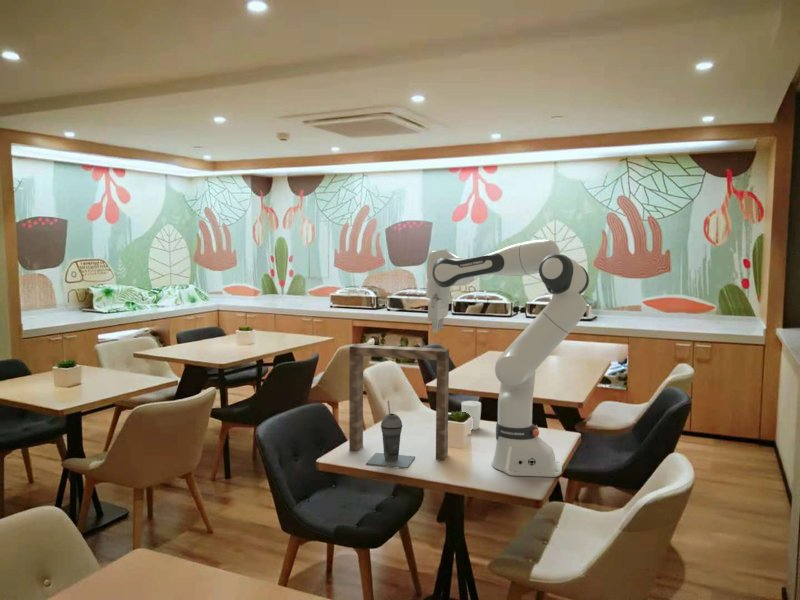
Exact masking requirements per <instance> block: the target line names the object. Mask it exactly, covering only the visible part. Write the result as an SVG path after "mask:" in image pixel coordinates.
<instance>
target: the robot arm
mask: <svg viewBox="0 0 800 600" xmlns="http://www.w3.org/2000/svg"><path fill="white" fill-rule="evenodd" d="M560 251H561V250H560V248H559V246H558V244H557V243H556V242H555V241H553V240H552V239H535V240H528V241H522V242H519V243H515V244H512V245H509V246H506V247H504V248H500V249H498V250H496V251H493V252H490V253H487V254H484V255H480V256H476V257H470V258H462V257H459V256H457V255H455V254H454V253H452V252H451V251H450V250H449V249H447V248H442V249H435V250H432V251H430V252H429V253H428V255H427V259H426V276H427V281H426V288H425V289H426V292H425V293H426V294H425V295H426V297H425V298H426V299H429V300H428V304H427V320H428V321H429V322H431V328H432V330H431V332H432V333H435V334H437V333H438V332H439V331H440V330H443V329H444V322H445V318H447V317H448V314H449V306H450V299H451V296H452V295H451V294H452V292H451V287H455V286H458V287H459V286H465V285H468V284H470V283H472V282H473V281H474V279H475V277H478V276H483V275H490V276H492V275H494V276H495V275H496V276H506V277H507V276H509V277H521V276H522V277H523V276H529V275H535V274H539V277H540V279H541V281H542V283H543V285H544V286H545V287H546V289H547V292H548V293H550V294H551V296H552V297H551V299H550V301H549V302H548V303H547V304H546V306H544V308H543V309H542V310H541V311H540V312H539V313H537V315H536V317H534V319H533V320H532V321H531V322H530V323H529V325H527V327H526V328H525V329H523V331H522V332H520V334H519V335H518V336H517V337H516V338H515V339H514V340H513V342H511V344H510V345H509V346H508V347H507V348H506V349H505V350H504V351H503V352H502V353H501V354H500V356H499V357H497V360H496V362H495V366H494V373H495V376H496V378H497V380H498V381H499V382H500V386H499V391H498V392H499V394H498V398H497V399H498V400H497V421H496V423H495V441H496V444H495V449H494V455H493V458H492V462H491V466H492V467H493V468H495V469H496V470H499V471H501V472H504V473H505V474H507V475H508V476H512V477H514V476H517V477H521V476H522V477H545V478H546V477H547V478H548V477H550V478H556V477H559V476H560V475H561V474H562V473H563V465H562V464H561V462H560V461H559V460H556V455H555V452H554V450H553V447H552V446H551V445H549V443H547V442H546V441H545V440H544V439H542V438H541V437H540V436H539V434H540V430H539V427H538V425H537V424H536V425H535V424H534V423H533V400H534V399H533V398H534V397H533V396H534V391H535V390H534V389H535V383H536V382H535V380H536V370H537V369H538V368H539V367H540V366H541V365H542V364H543V363H544V361H545V360H546V359H548V357H549V356H550V355H551V354H552V353H553V351H555V349H556V348H557V347H559V345H560V344H561V343H562V342H563V341H564V340H565V339H566V338H567V337H568V336H569V334H571V332H572V331H573V330H574V329H575V327H576V326H577V325H578V324H579V322H580V321H581V319H582V318H583V317H584V315H585V313H586V311H587V307H588V305H587V302H586V300H585V298H584V297H583V296H582V295H581V294H583V293H584V292H586V290H587V289H588V286H589V283H590V277H589V274H588V272H587V271H586V269H585V268H584V267H583V266H581V265H580V264H579V263H578V262H577V261H576V260H574V259H573V258H571V257H568V256H567V255H565V254H562V253H561V252H560Z"/></svg>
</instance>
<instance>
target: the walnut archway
mask: <svg viewBox="0 0 800 600" xmlns="http://www.w3.org/2000/svg"><path fill="white" fill-rule="evenodd" d="M348 350H349V355H348V356H349V357H348V358H349V361H348V362H349V365H348V367H349V368H348V369H349V373H348V374H349V379H348V380H349V383H348V385H349V392H348V394H349V395H348V396H349V398H348V399H349V401H348V403H349V405H348V406H349V407H348V409H349V413H348V414H349V417H348V418H349V422H348V426H349V429H348V430H349V431H348V433H349V434H348V435H349V437H348V439H349V440H348V443H349V444H348V445H349V449H348V450H349V451H350V452H356V453H357V452H358V451H360V450H361V449H362V448H363V447H364V357H374V358H376V357H377V358H389V359H390V358H392V359H396V358H397V359H408V360H409V359H411V360H430V361H436V396H435V397H436V398H435V400H436V404H435V406H436V407H435V411H436V413H435V460H438V459H440V461H445V460H446V458H447V456H448V453H449V452H448V451H449V449H448V446H449V444H448V443H449V441H448V440H449V384H450V383H449V381H450V380H449V379H450V377H449V375H450V373H449V372H450V368H449V367H450V348H441V347H440V348H437V347H436V348H435V347H420V346H419V347H418V346H416V347H415V346H399V345H398V346H396V345H395V346H394V345H380V344H378V345H375V344H374V345H372V344H356V343H355V344H353V345H351V346H349V349H348Z"/></svg>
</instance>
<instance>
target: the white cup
mask: <svg viewBox="0 0 800 600" xmlns="http://www.w3.org/2000/svg"><path fill="white" fill-rule="evenodd" d="M462 412H466V413H468V414H469V415H470V416H471V417H472V419H473V431H474V430H475V431H476V430H479V429H480V422H481V415H482V414H481V413H482V403H481V401H478V400H477V401H476V400H463V401H461V413H462Z"/></svg>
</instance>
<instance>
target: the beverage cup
mask: <svg viewBox="0 0 800 600" xmlns="http://www.w3.org/2000/svg"><path fill="white" fill-rule="evenodd" d="M387 410H388V414H386V415H385V416H383V418H382V420H381V424H380V428H381V429H380V430H381V433H382V435H381V436H382V446H383V448H382V449H383V453H384V457H385V461H387V462H395V461H398V456H399V455H400V443H401V433H402V429H403V422H402V419H401V418H400V416H399V415H398V414H396V413H391V405H390V401H389V400H387Z"/></svg>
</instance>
